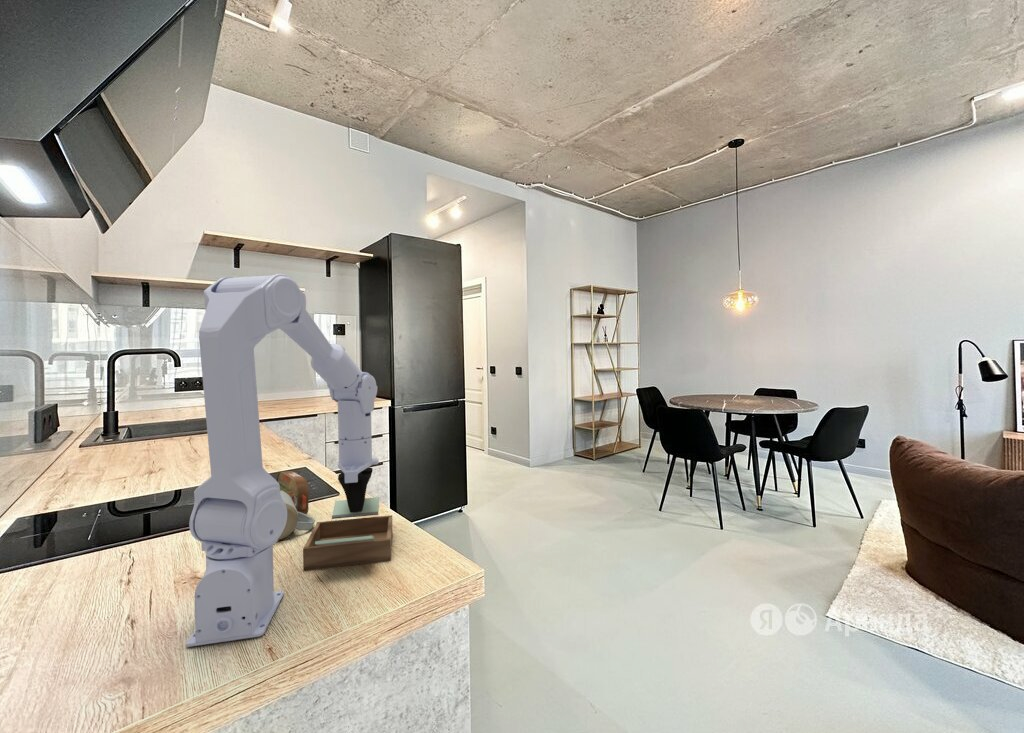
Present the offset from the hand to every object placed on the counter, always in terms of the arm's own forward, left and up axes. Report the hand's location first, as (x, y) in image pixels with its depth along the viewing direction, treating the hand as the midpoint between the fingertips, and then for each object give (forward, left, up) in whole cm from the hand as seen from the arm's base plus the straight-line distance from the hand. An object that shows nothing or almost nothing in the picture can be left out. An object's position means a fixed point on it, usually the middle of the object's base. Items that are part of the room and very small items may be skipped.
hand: (356, 510), depth 79 cm
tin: (+16, +15, -5) cm, 22 cm away
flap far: (+1, 0, 0) cm, 1 cm away
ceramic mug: (+5, +14, -5) cm, 16 cm away
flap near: (-13, 0, 0) cm, 13 cm away
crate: (-6, 0, -5) cm, 8 cm away
